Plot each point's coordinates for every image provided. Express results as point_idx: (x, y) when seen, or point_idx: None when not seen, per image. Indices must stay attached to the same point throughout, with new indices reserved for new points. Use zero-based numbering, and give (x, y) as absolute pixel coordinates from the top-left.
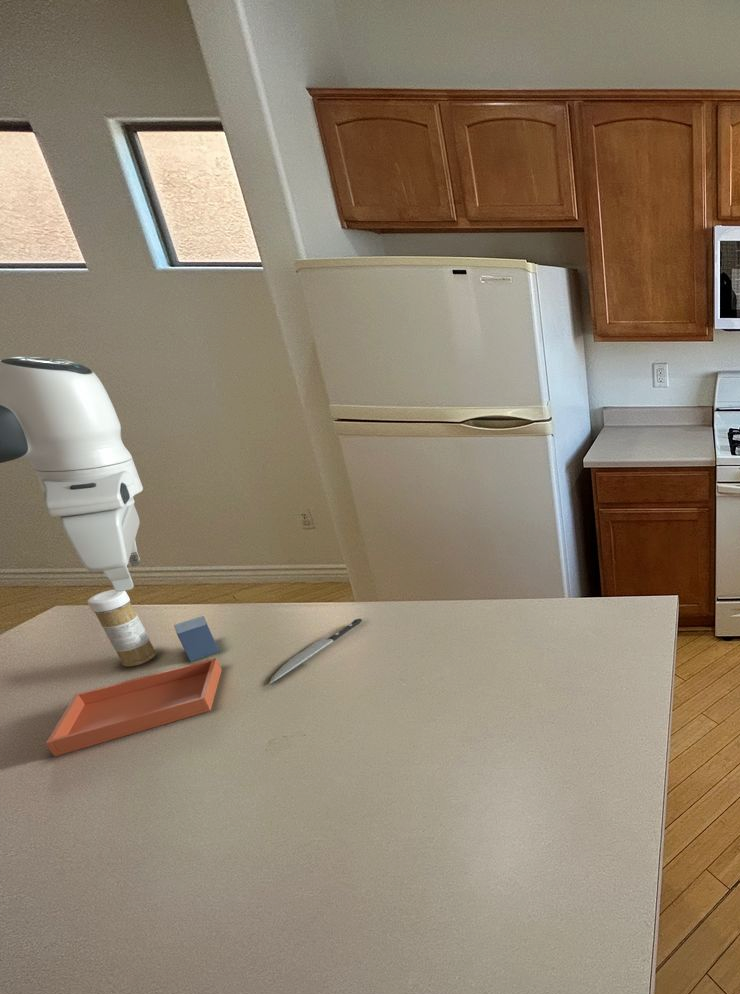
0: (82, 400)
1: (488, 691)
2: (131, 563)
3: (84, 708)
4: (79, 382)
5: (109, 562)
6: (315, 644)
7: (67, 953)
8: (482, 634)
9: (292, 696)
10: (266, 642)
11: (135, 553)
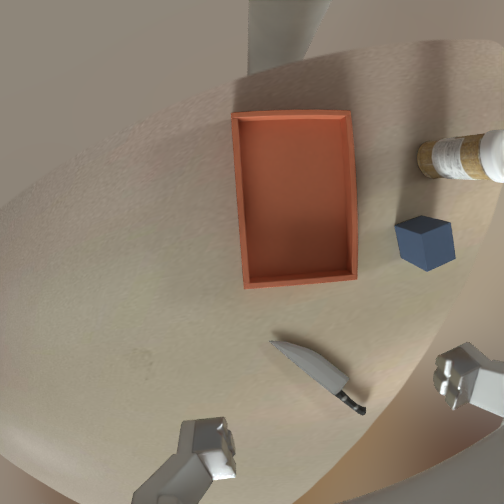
0: None
1: None
2: (443, 373)
3: (330, 121)
4: None
5: None
6: (336, 378)
7: None
8: (256, 492)
9: (228, 365)
10: (389, 313)
11: (460, 405)
